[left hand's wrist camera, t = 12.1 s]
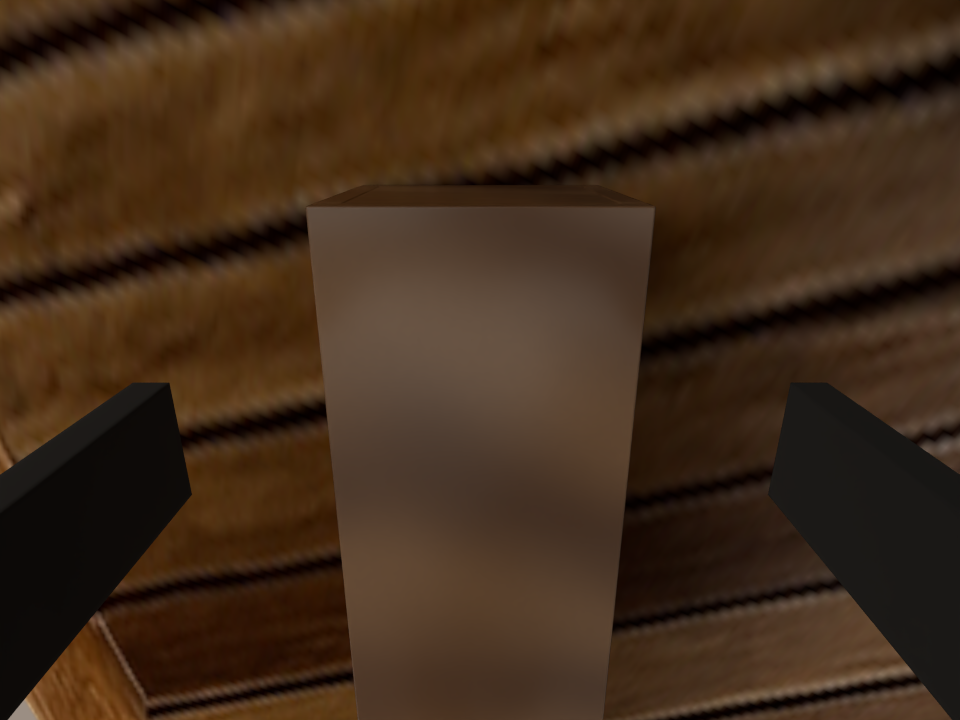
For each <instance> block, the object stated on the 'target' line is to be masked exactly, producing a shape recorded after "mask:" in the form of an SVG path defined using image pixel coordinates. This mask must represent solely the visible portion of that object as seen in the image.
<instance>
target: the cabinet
mask: <svg viewBox="0 0 960 720" xmlns="http://www.w3.org/2000/svg"><path fill="white" fill-rule="evenodd" d="M655 209H656V208H655V206H652V205H650V204H647V203H644V202H641V201H639V200H636V199H633V198H630V197H628V196H625V195H622V194H620V193H617V192H614V191H612V190H609V189H606V188H604V187H601V186H598V185H363V186H360V187H357V188H354V189H351V190H349V191H346V192H343V193H341V194H338V195H335V196H333V197H330V198H327V199H325V200H322V201H319V202H317V203H314V204H312V205H309V206H307V207H306V215H307V225H308V234H309V244H310V254H311V264H312V274H313V283H314V293H315V303H316V313H317V323H318V332H319V342H320V352H321V362H322V372H323V381H324V391H325V401H326V411H327V421H328V431H329V440H330V450H331V460H332V470H333V480H334V489H335V499H336V509H337V519H338V529H339V538H340V548H341V558H342V568H343V578H344V587H345V597H346V607H347V617H348V627H349V636H350V646H351V656H352V666H353V676H354V685H355V695H356V705H357V715H358V720H603V715H604V705H605V695H606V685H607V676H608V666H609V656H610V647H611V637H612V627H613V617H614V608H615V598H616V588H617V579H618V569H619V559H620V549H621V540H622V530H623V520H624V511H625V501H626V491H627V481H628V472H629V462H630V452H631V443H632V433H633V423H634V413H635V404H636V394H637V384H638V375H639V365H640V355H641V345H642V336H643V326H644V316H645V307H646V297H647V287H648V277H649V268H650V258H651V248H652V239H653V229H654V219H655Z"/></svg>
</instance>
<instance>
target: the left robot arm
mask: <svg viewBox="0 0 960 720" xmlns="http://www.w3.org/2000/svg"><path fill="white" fill-rule="evenodd" d="M191 495H192V493H191V488H190V483H189V478H188V473H187V468H186V463H185V458H184V453H183V448H182V443H181V438H180V433H179V428H178V424H177V419H176V414H175V409H174V404H173V399H172V394H171V389H170V384H169V383H132V384H131V385H129V386H128V387H126V388H125V389H123V390H122V391H120V392H119V393H118V394H116V395H115V396H113V397H112V398H110V399H109V400H107V401H106V402H105V403H103V404H102V405H100V406H99V407H97V408H96V409H94V410H93V411H92V412H90V413H89V414H87V415H86V416H84V417H83V418H81V419H80V420H79V421H77V422H76V423H74V424H73V425H71V426H70V427H68V428H67V429H66V430H64V431H63V432H61V433H60V434H58V435H57V436H56V437H54V438H53V439H51V440H50V441H48V442H47V443H45V444H44V445H43V446H41V447H40V448H38V449H37V450H35V451H34V452H32V453H31V454H30V455H28V456H27V457H25V458H24V459H22V460H21V461H19V462H18V463H17V464H15V465H14V466H12V467H11V468H9V469H8V470H6V471H5V472H4V473H2V474H1V475H0V720H8V719H9V717H10V716H11V715H12V714H13V713H14V711H15V710H16V709H17V708H18V706H19V705H20V704H21V703H22V702H23V700H24V699H25V698H26V697H27V695H28V694H29V693H30V692H31V691H32V689H33V688H34V687H35V686H36V684H37V683H38V682H39V681H40V680H41V678H42V677H43V676H44V675H45V673H46V672H47V671H48V670H49V669H50V667H51V666H52V665H53V664H54V662H55V661H56V660H57V659H58V658H59V656H60V655H61V654H62V653H63V651H64V650H65V649H66V648H67V647H68V645H69V644H70V643H71V642H72V640H73V639H74V638H75V637H76V636H77V634H78V633H79V632H80V631H81V629H82V628H83V627H84V626H85V625H86V623H87V622H88V621H89V620H90V618H91V617H92V616H93V615H94V614H95V612H96V611H97V610H98V609H99V607H100V606H101V605H102V604H103V603H104V601H105V600H106V599H107V598H108V596H109V595H110V594H111V593H112V592H113V590H114V589H115V588H116V587H117V585H118V584H119V583H120V582H121V581H122V579H123V578H124V577H125V576H126V574H127V573H128V572H129V571H130V570H131V568H132V567H133V566H134V565H135V563H136V562H137V561H138V560H139V559H140V557H141V556H142V555H143V554H144V552H145V551H146V550H147V549H148V548H149V546H150V545H151V544H152V543H153V541H154V540H155V539H156V538H157V537H158V535H159V534H160V533H161V532H162V530H163V529H164V528H165V527H166V526H167V524H168V523H169V522H170V521H171V519H172V518H173V517H174V516H175V515H176V513H177V512H178V511H179V510H180V508H181V507H182V506H183V505H184V504H185V502H186V501H187V500H188V499H189V497H190V496H191ZM768 495H769V496H770V497H771V499H772V500H773V501H774V502H775V504H776V505H777V506H778V507H779V508H780V510H781V511H782V512H783V513H784V515H785V516H786V517H787V518H788V519H789V521H790V522H791V523H792V524H793V526H794V527H795V528H796V529H797V530H798V532H799V533H800V534H801V535H802V537H803V538H804V539H805V540H806V541H807V543H808V544H809V545H810V546H811V548H812V549H813V550H814V551H815V552H816V554H817V555H818V556H819V557H820V559H821V560H822V561H823V562H824V563H825V565H826V566H827V567H828V568H829V570H830V571H831V572H832V573H833V574H834V576H835V577H836V578H837V579H838V581H839V582H840V583H841V584H842V585H843V587H844V588H845V589H846V590H847V592H848V593H849V594H850V595H851V596H852V598H853V599H854V600H855V601H856V603H857V604H858V605H859V606H860V607H861V609H862V610H863V611H864V612H865V614H866V615H867V616H868V617H869V618H870V620H871V621H872V622H873V623H874V625H875V626H876V627H877V628H878V629H879V631H880V632H881V633H882V634H883V636H884V637H885V638H886V639H887V640H888V642H889V643H890V644H891V645H892V647H893V648H894V649H895V650H896V651H897V653H898V654H899V655H900V656H901V658H902V659H903V660H904V661H905V662H906V664H907V665H908V666H909V667H910V669H911V670H912V671H913V672H914V673H915V675H916V676H917V677H918V678H919V680H920V681H921V682H922V683H923V684H924V686H925V687H926V688H927V689H928V691H929V692H930V693H931V694H932V695H933V697H934V698H935V699H936V700H937V702H938V703H939V704H940V705H941V706H942V708H943V709H944V710H945V711H946V713H947V714H948V715H949V716H950V717H951V719H952V720H960V475H959V474H958V473H956V472H955V471H954V470H952V469H951V468H949V467H948V466H946V465H945V464H943V463H942V462H941V461H939V460H938V459H936V458H935V457H933V456H932V455H930V454H929V453H928V452H926V451H925V450H923V449H922V448H920V447H919V446H917V445H916V444H915V443H913V442H912V441H910V440H909V439H907V438H906V437H904V436H903V435H902V434H900V433H899V432H897V431H896V430H894V429H893V428H892V427H890V426H889V425H887V424H886V423H884V422H883V421H881V420H880V419H879V418H877V417H876V416H874V415H873V414H871V413H870V412H868V411H867V410H866V409H864V408H863V407H861V406H860V405H858V404H857V403H855V402H854V401H853V400H851V399H850V398H848V397H847V396H845V395H844V394H842V393H841V392H840V391H838V390H837V389H835V388H834V387H832V386H831V385H829V384H828V383H791V384H790V389H789V394H788V399H787V404H786V409H785V414H784V419H783V424H782V428H781V433H780V438H779V443H778V448H777V453H776V458H775V463H774V468H773V473H772V478H771V483H770V488H769V493H768Z"/></svg>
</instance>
